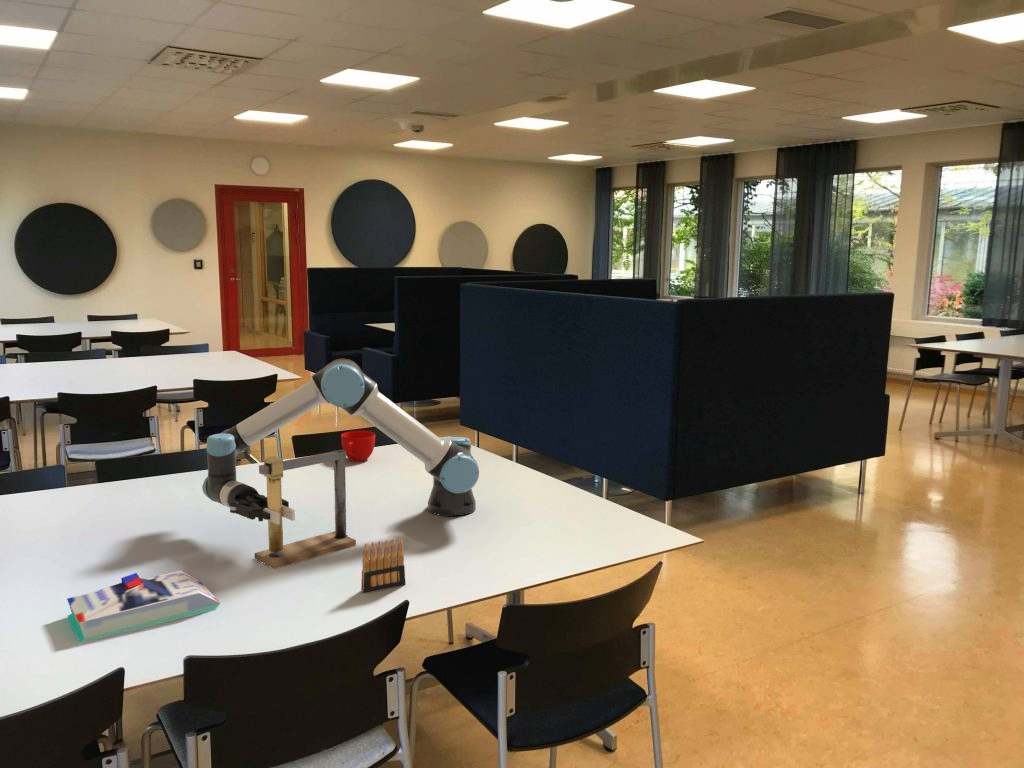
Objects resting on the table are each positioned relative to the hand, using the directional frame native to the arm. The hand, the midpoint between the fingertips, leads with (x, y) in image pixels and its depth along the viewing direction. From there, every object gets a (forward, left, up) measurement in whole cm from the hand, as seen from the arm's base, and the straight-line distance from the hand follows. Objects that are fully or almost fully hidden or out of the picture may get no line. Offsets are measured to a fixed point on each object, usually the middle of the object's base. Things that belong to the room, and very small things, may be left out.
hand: (285, 517), depth 209 cm
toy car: (+27, +26, -14) cm, 40 cm away
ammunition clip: (-25, +15, -13) cm, 33 cm away
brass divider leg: (+3, -4, -11) cm, 12 cm away
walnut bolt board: (-3, -10, -13) cm, 17 cm away
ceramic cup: (-8, -106, -13) cm, 107 cm away
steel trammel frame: (-3, -10, -12) cm, 15 cm away
